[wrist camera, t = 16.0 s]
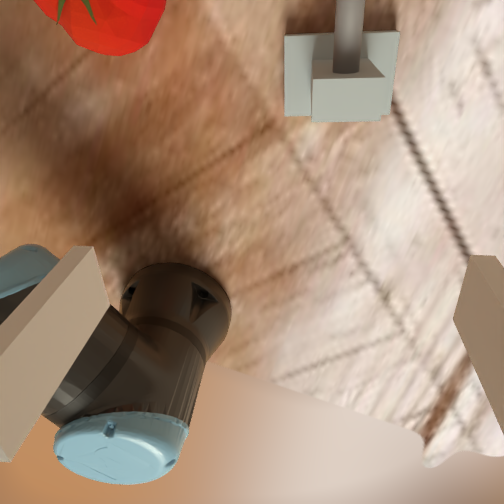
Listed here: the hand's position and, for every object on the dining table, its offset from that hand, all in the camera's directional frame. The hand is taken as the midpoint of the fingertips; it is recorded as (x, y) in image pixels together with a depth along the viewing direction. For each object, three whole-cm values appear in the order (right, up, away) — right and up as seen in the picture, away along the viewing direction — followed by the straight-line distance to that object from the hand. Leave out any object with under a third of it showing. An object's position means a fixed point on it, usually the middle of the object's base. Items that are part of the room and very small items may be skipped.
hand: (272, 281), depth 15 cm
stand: (+7, +22, +23) cm, 33 cm away
